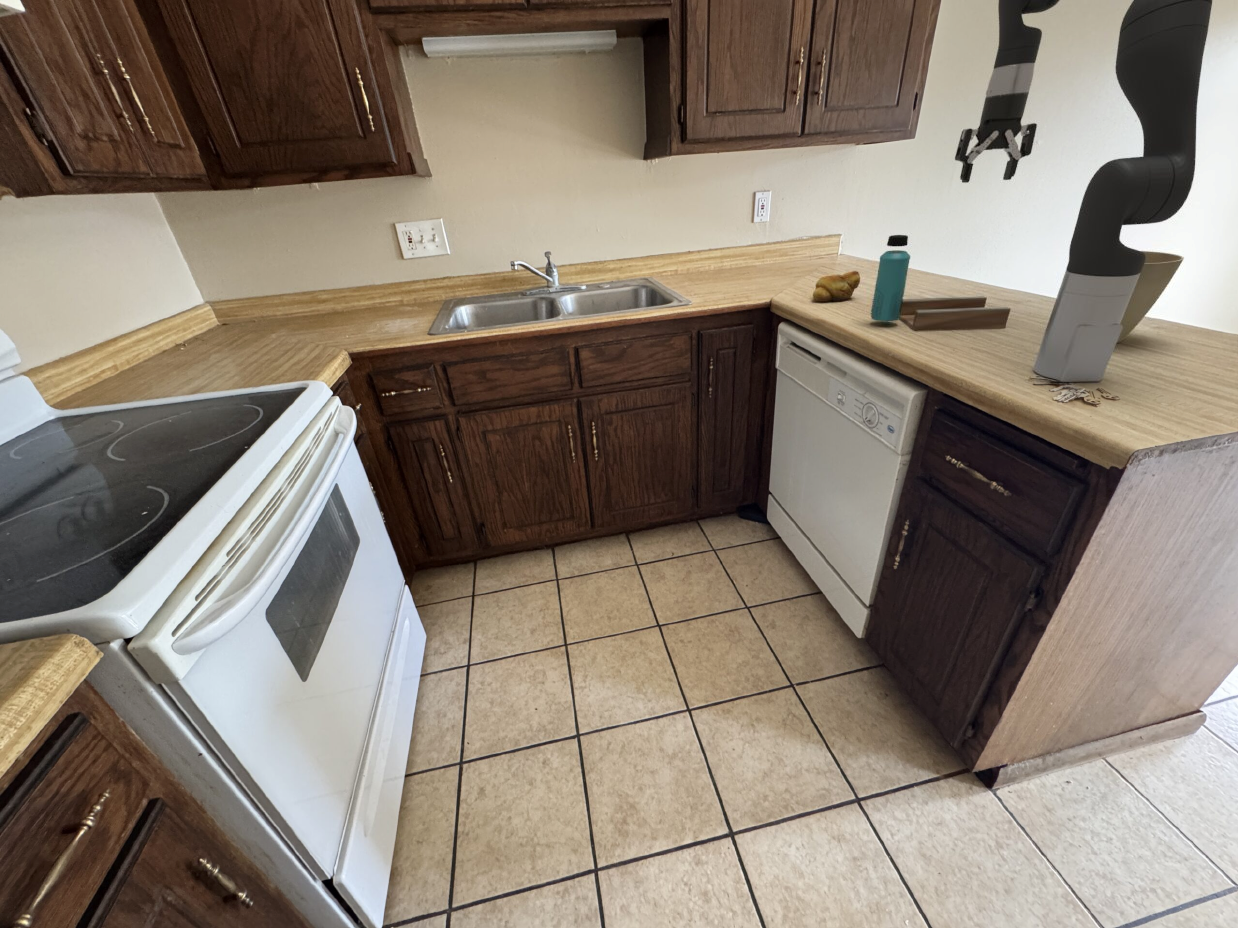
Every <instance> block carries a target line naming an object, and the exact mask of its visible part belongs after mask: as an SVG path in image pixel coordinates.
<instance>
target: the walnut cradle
mask: <svg viewBox="0 0 1238 928" xmlns="http://www.w3.org/2000/svg"><path fill="white" fill-rule="evenodd" d="M986 302H987V297H986V296H983V295H982V296H956V297H955V296H953V297H933V298H929V297H926V298H908V299H907V298H905V299H904V298H903V301H902V303H903V304H902V305H901V308H902V309H901V311H900V317H899V319H898V320H900V321H902V323H904V324H905V325H907V326H908V327H909V328H911V329H912V330H913V331H914V332H919V331H921V332H922V331H923V332H924V331H927V332H928V331H953V330H954V331H955V330H959V331H960V330H982V329H983V330H984V329H985V330H986V329H988V330H989V329H991V330H992V329H1006V327H1007V323H1008V320H1009V315H1010V313H1011V308H1010V307H1008V306H993V307H990V306H989V307H985V306H986V304H987V303H986Z"/></svg>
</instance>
